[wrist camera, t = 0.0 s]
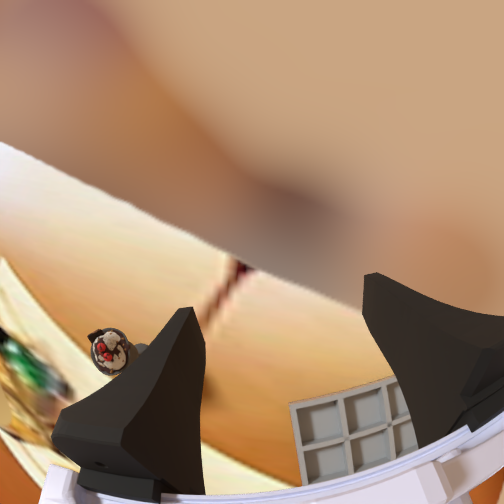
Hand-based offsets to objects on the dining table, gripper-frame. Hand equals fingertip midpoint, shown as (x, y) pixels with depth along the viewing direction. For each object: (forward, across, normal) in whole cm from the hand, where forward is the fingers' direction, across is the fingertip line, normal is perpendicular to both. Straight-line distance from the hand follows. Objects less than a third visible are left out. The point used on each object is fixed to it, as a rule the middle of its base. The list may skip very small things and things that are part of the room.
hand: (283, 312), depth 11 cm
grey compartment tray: (+10, -11, +34) cm, 37 cm away
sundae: (+23, +22, +23) cm, 39 cm away
